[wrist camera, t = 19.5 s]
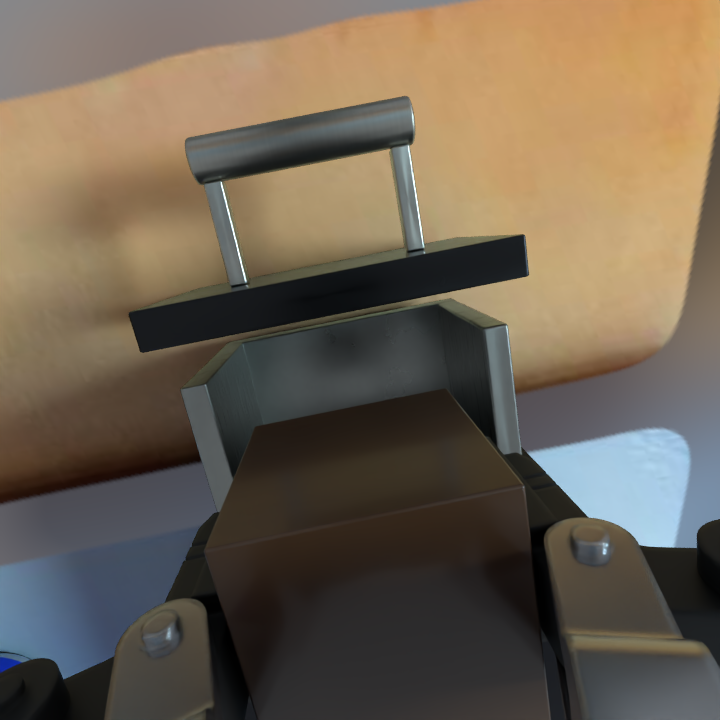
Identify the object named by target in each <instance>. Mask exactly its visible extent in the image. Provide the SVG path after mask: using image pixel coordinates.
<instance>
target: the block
mask: <svg viewBox="0 0 720 720" xmlns="http://www.w3.org/2000/svg"><path fill="white" fill-rule="evenodd" d="M204 554H205V557H206V560H207V563H208V567H209V570H210V573H211V576H212V579H213V582H214V586H215V589H216V592H217V595H218V598H219V601H220V604H221V608H222V611H223V614H224V617H225V620H226V623H227V626H228V630H229V633H230V636H231V639H232V642H233V645H234V649H235V652H236V655H237V658H238V661H239V664H240V667H241V671H242V674H243V677H244V680H245V683H246V686H247V689H248V693H249V696H250V699H251V702H252V705H253V708H254V712H255V715H256V718H257V720H551V717H550V708H549V699H548V690H547V681H546V672H545V663H544V654H543V645H542V636H541V627H540V618H539V609H538V600H537V591H536V582H535V573H534V564H533V555H532V546H531V537H530V528H529V519H528V510H527V502H526V493H525V486H524V484H523V483H522V482H521V480H520V479H519V478H518V477H517V476H516V474H515V473H514V472H513V471H512V469H511V468H510V467H509V466H508V464H507V463H506V462H505V461H504V459H503V458H502V457H501V456H500V454H499V453H498V452H497V451H496V449H495V448H494V447H493V446H492V444H491V443H490V442H489V441H488V440H487V438H486V437H485V436H484V435H483V433H482V432H481V431H480V430H479V428H478V427H477V426H476V425H475V423H474V422H473V421H472V420H471V418H470V417H469V416H468V415H467V413H466V412H465V411H464V410H463V408H462V407H461V406H460V405H459V404H458V402H457V401H456V400H455V399H454V397H453V396H452V395H451V394H450V392H449V391H448V390H447V389H446V388H444V389H439V390H434V391H429V392H424V393H419V394H414V395H409V396H404V397H399V398H394V399H389V400H384V401H379V402H374V403H369V404H364V405H359V406H354V407H349V408H344V409H339V410H334V411H329V412H324V413H319V414H314V415H309V416H304V417H299V418H295V419H290V420H285V421H280V422H275V423H270V424H265V425H260V426H256V427H255V428H254V430H253V433H252V435H251V438H250V440H249V442H248V445H247V447H246V450H245V452H244V455H243V457H242V459H241V462H240V464H239V467H238V469H237V471H236V474H235V476H234V479H233V481H232V484H231V486H230V488H229V491H228V493H227V496H226V498H225V501H224V503H223V505H222V508H221V510H220V513H219V515H218V517H217V520H216V522H215V525H214V527H213V530H212V532H211V534H210V537H209V539H208V542H207V544H206V546H205V549H204Z"/></svg>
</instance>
